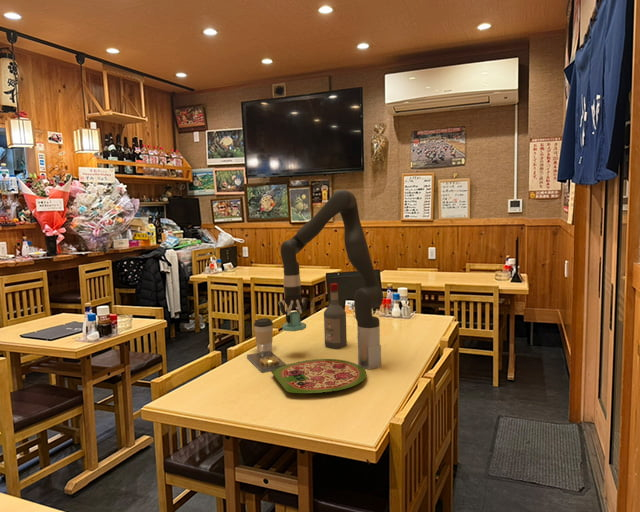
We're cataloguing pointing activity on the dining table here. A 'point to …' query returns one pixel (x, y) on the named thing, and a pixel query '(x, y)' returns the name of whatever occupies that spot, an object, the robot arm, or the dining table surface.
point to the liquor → (335, 322)
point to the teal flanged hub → (294, 323)
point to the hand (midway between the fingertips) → (294, 322)
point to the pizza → (319, 375)
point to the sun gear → (269, 361)
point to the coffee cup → (264, 333)
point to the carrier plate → (257, 356)
